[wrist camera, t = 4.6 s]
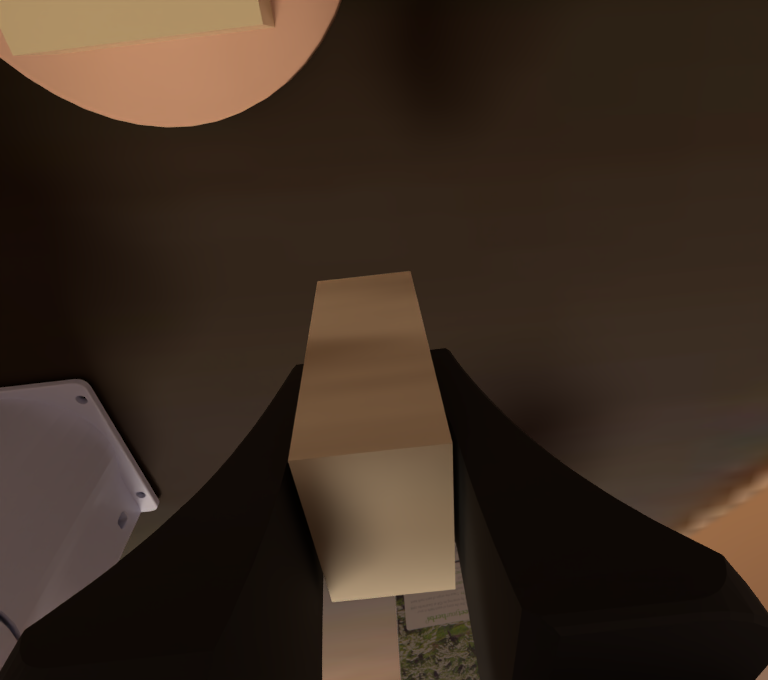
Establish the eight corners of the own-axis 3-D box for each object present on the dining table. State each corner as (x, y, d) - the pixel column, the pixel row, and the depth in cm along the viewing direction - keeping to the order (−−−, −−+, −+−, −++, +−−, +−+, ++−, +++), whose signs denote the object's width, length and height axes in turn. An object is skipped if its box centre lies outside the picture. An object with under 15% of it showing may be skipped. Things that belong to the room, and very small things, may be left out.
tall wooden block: (419, 390, 14) (455, 589, 9) (340, 399, 14) (332, 602, 9) (410, 271, 12) (452, 443, 6) (317, 281, 12) (288, 461, 7)
